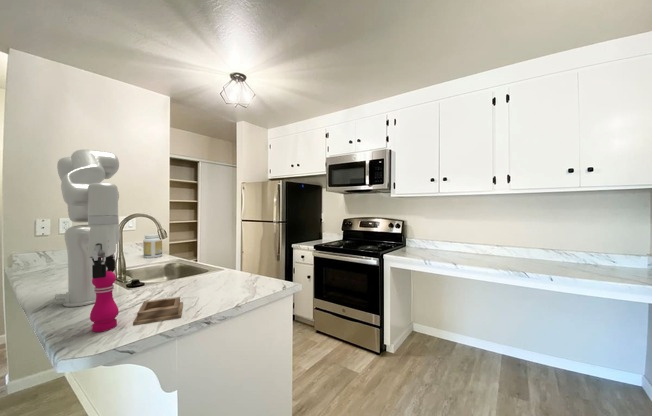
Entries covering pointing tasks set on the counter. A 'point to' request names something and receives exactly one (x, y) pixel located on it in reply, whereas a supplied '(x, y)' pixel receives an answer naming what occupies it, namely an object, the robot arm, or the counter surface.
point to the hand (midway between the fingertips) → (104, 274)
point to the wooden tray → (159, 310)
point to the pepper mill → (104, 304)
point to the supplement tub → (152, 246)
